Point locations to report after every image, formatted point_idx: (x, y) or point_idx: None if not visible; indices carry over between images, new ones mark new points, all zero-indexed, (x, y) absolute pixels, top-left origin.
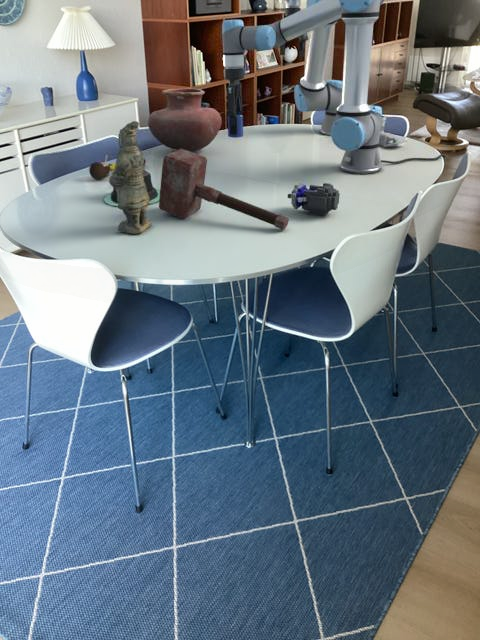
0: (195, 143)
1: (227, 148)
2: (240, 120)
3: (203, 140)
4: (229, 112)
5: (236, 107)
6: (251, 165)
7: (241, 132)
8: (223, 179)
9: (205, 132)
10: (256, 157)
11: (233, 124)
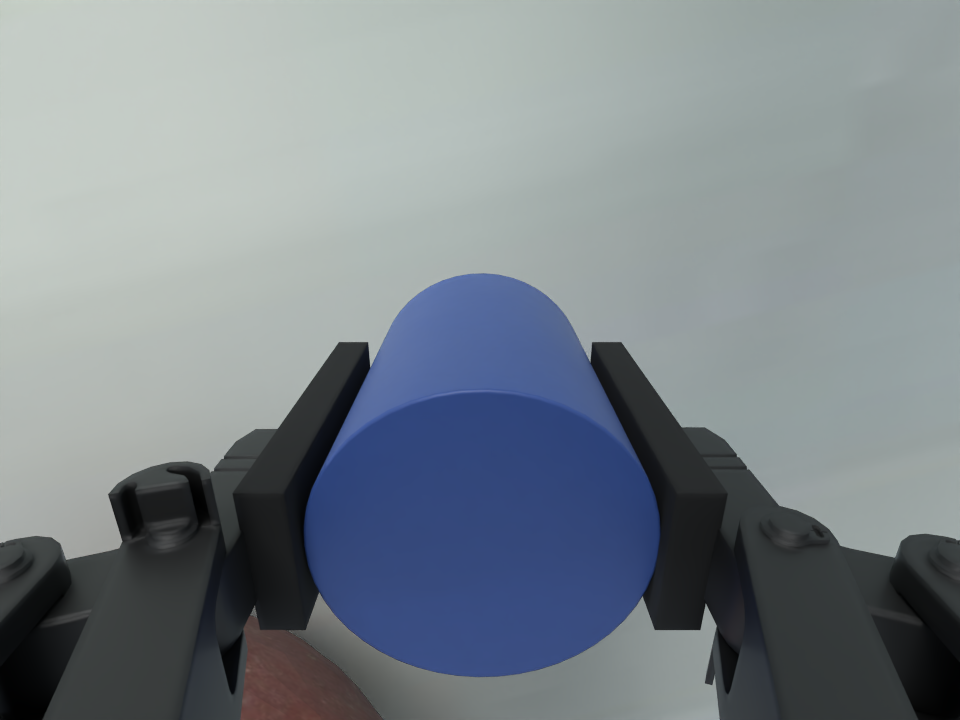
0: (349, 679)
1: (27, 465)
2: (573, 379)
3: (294, 651)
4: (952, 712)
5: (223, 708)
6: (506, 137)
7: (530, 297)
8: (934, 274)
9: (290, 701)
10: (220, 153)
11: (721, 452)
